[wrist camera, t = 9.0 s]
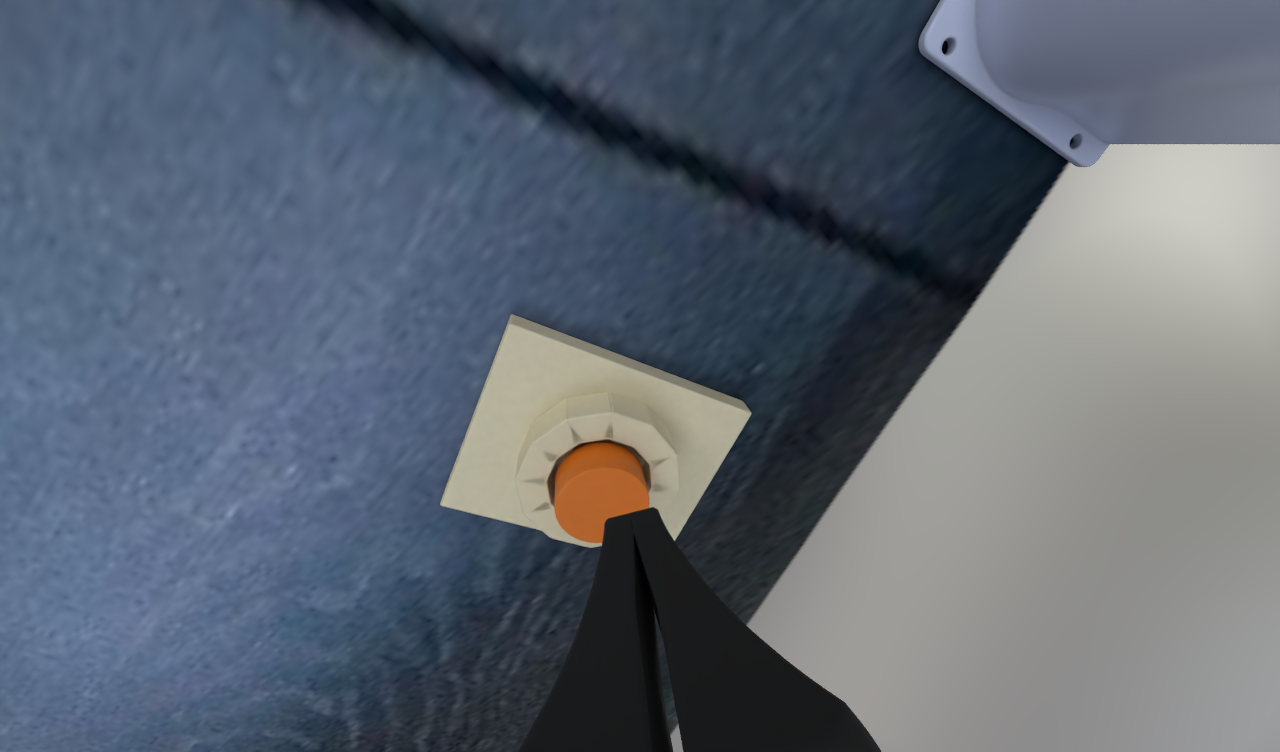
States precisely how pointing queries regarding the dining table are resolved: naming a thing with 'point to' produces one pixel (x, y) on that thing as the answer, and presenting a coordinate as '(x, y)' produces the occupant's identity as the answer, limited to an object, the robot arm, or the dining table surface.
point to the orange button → (597, 489)
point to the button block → (585, 429)
